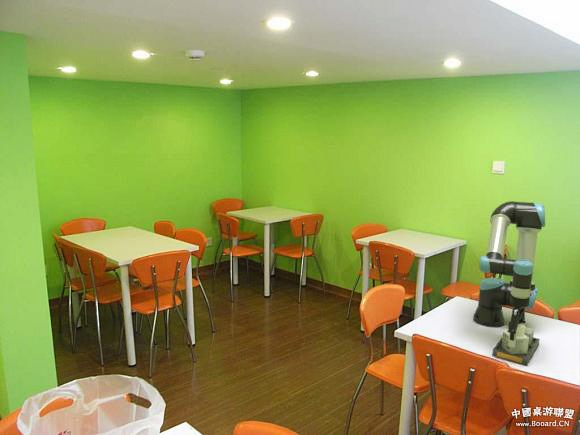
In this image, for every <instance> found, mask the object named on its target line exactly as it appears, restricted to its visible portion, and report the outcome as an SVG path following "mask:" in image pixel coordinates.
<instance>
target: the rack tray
mask: <svg viewBox="0 0 580 435" xmlns="http://www.w3.org/2000/svg"><path fill="white" fill-rule="evenodd" d="M502 338H503V336H502V337H501V338H500V340H499V341H498V342H497V344H496V345H495V346H494V347H493V348H492V357H495V358H499V359H501V360H502V359H503V360H505V361H509V362H512V363H516V364H519V365H522V366H527V367H528V365H529V363H530V361H531V360H532V358H533V357H534V354H535V352H536V351H537V349H538V347H539V345H540V338H537V337H534V336H533V341H532V343H531V345H530V344H528V351H527V354H510V353H509V352H508V351H507V350H506V349H504V348H503V347H502Z"/></svg>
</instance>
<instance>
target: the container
mask: <svg viewBox="0 0 580 435" xmlns="http://www.w3.org/2000/svg"><path fill="white" fill-rule="evenodd" d="M509 326H510V321H509V322H508V328H507V330H503V331H502V337H503V338H502V337H501V338H502V347H503V348H504V349H506V350H507V351H508V352H509V353H510V354H527V351H528V342H529V337H527V336H526V335H525V334H524V333H525V327H526V324H525V323H521V322H518V326H517V330H516V333H517V334H516V343H515V348H514V347H510V346H508V340H509V332H507V331H508V330H509Z"/></svg>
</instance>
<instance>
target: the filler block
mask: <svg viewBox="0 0 580 435" xmlns="http://www.w3.org/2000/svg"><path fill="white" fill-rule="evenodd" d="M534 333H535V329H534V328H532V327H527V326H525V333H524V334H525V335H526V336H527V337H529V342H528V344H530V345H531V343H532V341H533V337H534Z"/></svg>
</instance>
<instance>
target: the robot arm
mask: <svg viewBox="0 0 580 435" xmlns="http://www.w3.org/2000/svg"><path fill="white" fill-rule="evenodd" d="M545 212H546V208H545V205H544V204H542V203H538V202H525V201H513V200H512V201H507V202H503V203H501V204H500V205H498V206H496V208H495V209H494V210H493V212H492V213H491V215H490V221H489V222H490V232H489V238H488V242H487V248H486V252H485V255H480V258H479V265H478V266H479V267H478V269H479V271H480V272H483V273H488V274H496V275H503V276H508V277H509V276H510V277H512V278H511V279H510V280H509V283H508V282H506V281H505V279H503V278H499V277H487V278H484V279H482V280H481V281H480V283H479V291H478V292H479V293H478V294H479V295H478V301H477V302H478V304H477V307H476V310H475V311H474V313H473V317H472V319H473V321H474V322H475V323H477V324H478V325H481V326H483V327H484V326H485V327H490V328H500V327H504V326H505V317H504V312H503V306H506V307H511V308H512V309H511V310H512V311H511V318H510V321H509V322H510V326H509V325H508V327H509V330H508V329H507V330H506V331H507V332H509V340H508V346H510V347H514V348H515V343H516V334H517V333H516V330H517V326H518V322H521V323H523V324H526V318H525V317H526V310H528V311H529V310H532V309H534V306H535V303H536V300H537V296H538V291H539V288H538V287H536V283H535V282H534V280H533V279H534V278H533V277H534V271H535V270H534V268H535V259H536V253H537V252H536V251H537V250H536V249H537V241H538V234H539V232H542V230H543V229H542V228H544V227H546V213H545ZM511 225H515V229H516V230H517V231H518V236H517V243H516V252H515V259H511V258H510V259H509V258H504V254H505V253H504V252H505V247H506V241H507V240H506V239H507V233H508V227H509V226H511Z"/></svg>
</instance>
